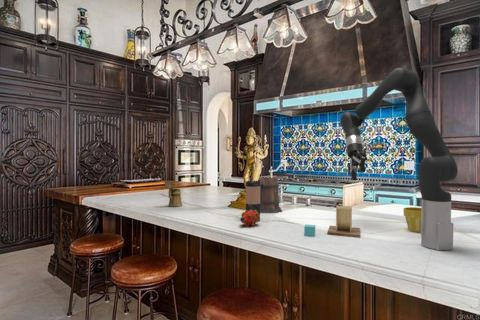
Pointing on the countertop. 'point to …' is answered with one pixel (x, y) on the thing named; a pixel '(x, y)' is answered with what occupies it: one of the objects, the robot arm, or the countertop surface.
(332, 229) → the walnut board
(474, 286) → the countertop surface
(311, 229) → the teal block
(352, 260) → the countertop surface
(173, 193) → the wooden mug
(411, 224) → the plant pot
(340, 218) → the brass cover
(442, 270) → the countertop surface
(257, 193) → the travel mug
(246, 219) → the dragon fruit
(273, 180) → the tankard
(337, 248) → the countertop surface
